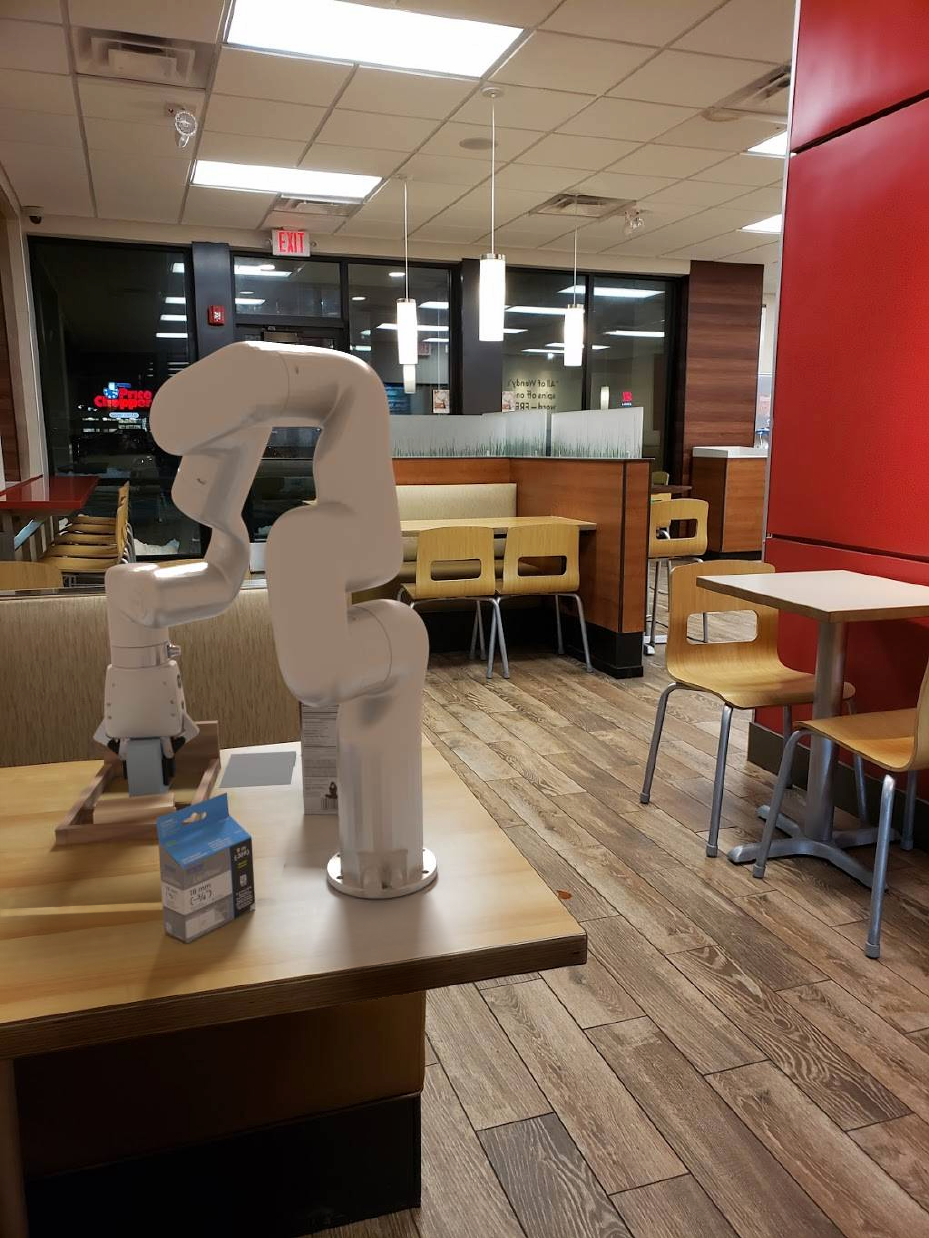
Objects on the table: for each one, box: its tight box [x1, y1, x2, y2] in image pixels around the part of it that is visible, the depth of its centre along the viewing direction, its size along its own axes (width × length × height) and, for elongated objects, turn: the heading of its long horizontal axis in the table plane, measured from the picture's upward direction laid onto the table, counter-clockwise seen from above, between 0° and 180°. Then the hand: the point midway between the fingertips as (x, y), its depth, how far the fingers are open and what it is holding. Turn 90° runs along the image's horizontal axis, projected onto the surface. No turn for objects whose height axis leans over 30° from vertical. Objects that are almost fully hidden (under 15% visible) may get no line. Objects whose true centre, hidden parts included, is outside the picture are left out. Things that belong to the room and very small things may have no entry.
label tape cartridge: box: [156, 792, 256, 944], centre depth 93 cm, size 9×4×12 cm, turn 143°
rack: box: [54, 720, 222, 846], centre depth 123 cm, size 24×16×8 cm
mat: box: [218, 750, 297, 789], centre depth 136 cm, size 14×10×1 cm
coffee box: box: [298, 700, 340, 816], centre depth 123 cm, size 9×6×16 cm
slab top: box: [92, 792, 176, 824], centre depth 115 cm, size 5×9×2 cm, turn 106°
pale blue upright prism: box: [125, 737, 173, 797], centre depth 126 cm, size 8×4×9 cm, turn 7°
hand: (150, 781), depth 126 cm, fingers closed on pale blue upright prism, 4 cm apart
